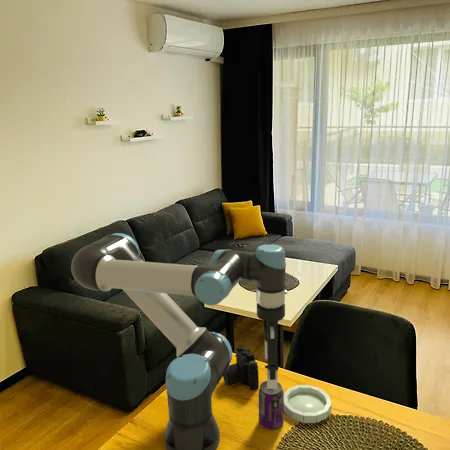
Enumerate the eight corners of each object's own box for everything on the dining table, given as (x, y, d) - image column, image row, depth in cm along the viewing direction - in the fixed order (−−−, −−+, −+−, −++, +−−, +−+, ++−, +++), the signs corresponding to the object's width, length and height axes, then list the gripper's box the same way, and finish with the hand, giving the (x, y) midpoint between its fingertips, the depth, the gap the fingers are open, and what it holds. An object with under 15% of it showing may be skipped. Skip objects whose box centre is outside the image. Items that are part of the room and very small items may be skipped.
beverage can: (282, 433, 121) (282, 396, 118) (257, 430, 123) (256, 393, 119) (284, 415, 128) (284, 380, 125) (260, 413, 129) (260, 378, 126)
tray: (285, 422, 125) (285, 415, 124) (281, 391, 138) (281, 385, 138) (334, 423, 124) (334, 415, 124) (326, 391, 138) (326, 385, 137)
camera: (217, 372, 150) (216, 346, 148) (246, 365, 153) (246, 340, 151) (230, 396, 137) (229, 368, 135) (261, 389, 140) (261, 361, 138)
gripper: (289, 325, 103) (288, 402, 109) (281, 283, 127) (280, 348, 133) (257, 325, 103) (258, 401, 109) (255, 283, 127) (256, 348, 133)
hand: (270, 372), depth 121 cm, fingers open, 13 cm apart
